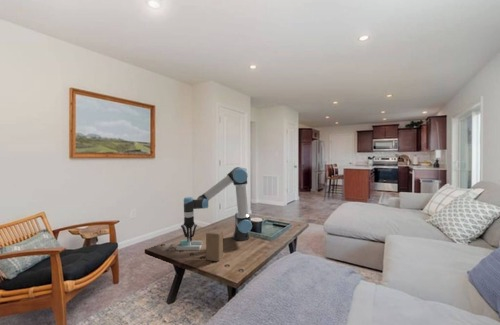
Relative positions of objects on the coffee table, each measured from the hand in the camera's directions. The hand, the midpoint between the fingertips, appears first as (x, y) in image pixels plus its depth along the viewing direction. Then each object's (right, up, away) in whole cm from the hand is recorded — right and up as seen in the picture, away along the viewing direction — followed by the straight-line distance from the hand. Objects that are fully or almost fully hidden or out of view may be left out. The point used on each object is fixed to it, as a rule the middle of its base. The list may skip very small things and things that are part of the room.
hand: (189, 245), depth 185 cm
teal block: (-4, -2, 0) cm, 4 cm away
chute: (0, -2, 0) cm, 2 cm away
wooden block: (+23, -3, -18) cm, 29 cm away
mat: (-13, -2, 0) cm, 13 cm away
